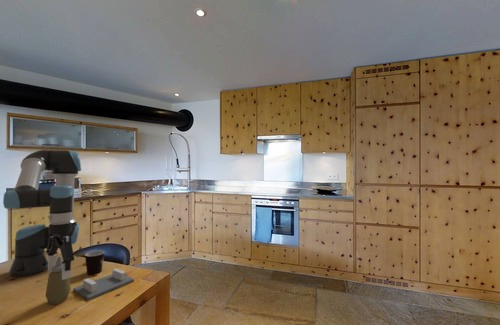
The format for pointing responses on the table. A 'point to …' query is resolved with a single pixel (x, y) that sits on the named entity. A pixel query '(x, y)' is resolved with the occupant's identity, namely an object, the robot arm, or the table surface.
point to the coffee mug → (94, 262)
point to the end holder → (103, 284)
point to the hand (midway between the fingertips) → (58, 274)
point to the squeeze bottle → (57, 285)
